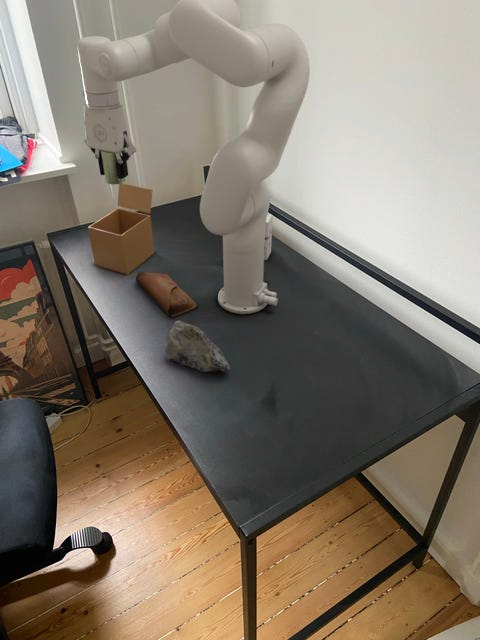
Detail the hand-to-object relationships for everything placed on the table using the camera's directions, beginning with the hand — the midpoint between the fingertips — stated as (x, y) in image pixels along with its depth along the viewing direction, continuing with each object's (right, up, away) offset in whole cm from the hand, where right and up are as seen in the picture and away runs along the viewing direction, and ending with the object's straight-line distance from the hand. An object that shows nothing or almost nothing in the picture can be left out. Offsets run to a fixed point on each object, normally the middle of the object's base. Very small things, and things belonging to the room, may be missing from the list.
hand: (114, 174), depth 129 cm
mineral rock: (+22, -46, -20) cm, 55 cm away
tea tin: (0, -1, +1) cm, 2 cm away
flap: (+3, -3, +10) cm, 11 cm away
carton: (0, -19, +14) cm, 24 cm away
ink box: (+35, -18, +16) cm, 43 cm away
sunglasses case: (+13, -30, 0) cm, 33 cm away
